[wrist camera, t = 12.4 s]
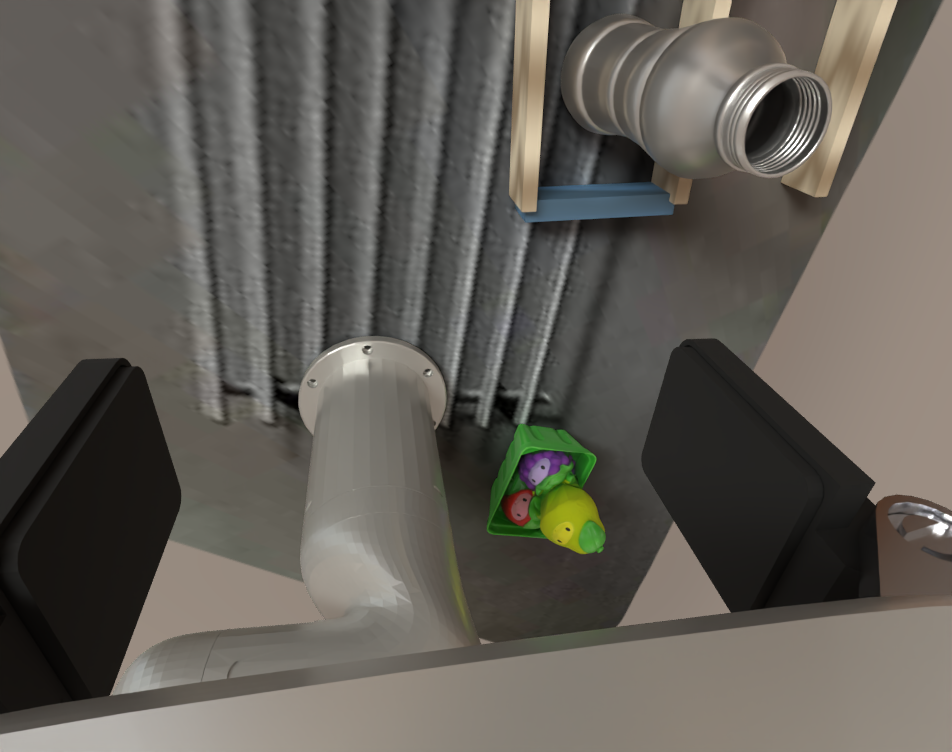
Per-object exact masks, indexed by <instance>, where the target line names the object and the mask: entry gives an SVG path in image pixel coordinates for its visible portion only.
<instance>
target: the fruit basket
mask: <svg viewBox="0 0 952 752" xmlns="http://www.w3.org/2000/svg"><path fill="white" fill-rule="evenodd" d="M595 463H596V456H595V455H594V454H593V453H591V452H590V451H589V450H587V449H585V448H584V447H583V446H581V445H580V444H579V443H578V442H577V441H576V440H575V439H574V438H573V437H572V436H571V435H570V434H568V433H567V432H566V431H565V430H554V429H552V428H547V427H540V426H530V427H529V426H527V425H525V424H519V425H518V427H517V430H516V432H515V434H514V440H513V441H512V442H511V444H510V446H509V448H508V451H507V453H506V459H505V460H504V461H503V462H502V465H501V467H500V469H499V472H498V477H497V478H496V479H495V481H494V483H493V486H492V488H491V499H490V512H489V518H488V521H487V531H488V532H489V533H490V534H493V535H509V536H521V537H532V538H546V539H547V538H548V539H549V540H550V541H552V542H554V543H555V544H557V545H560V546H563V547H567V548H570V549H571V550H573V551H575V552H577V553H580V554H587V553H593V552H595V551H597V552H598V553H600V552H602V551H603V549H604V547H603V546H602V545H603V544H604V542H605V539H606V535H605V529H604V526H603V524H602V522H601V521H600V519H599V515H598V510H597V507H596V505H595V503H594V501H593V499H592V498H591V497H590V496H589V495H588V494H587V493H586V492H585V491H584V490H582V488H583V486H584V484H585V482H586V480H587V478H588V477H589V475H590V473H591V471H592V469H593V467H594V465H595Z"/></svg>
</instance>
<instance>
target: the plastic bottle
mask: <svg viewBox="0 0 952 752" xmlns="http://www.w3.org/2000/svg"><path fill="white" fill-rule="evenodd" d="M560 83H561V93H562V97H563V100H564V103H565V105H566V107H567V109H568V111H569V112H570V114H571V115H572V117H573V118H574V119H575V121H576V122H577V123H578V124H579V125H580V126H582V127H583V128H584V129H586V130H588V131H590V132H592V133H598V134H603V135H621V136H625V137H627V138H629V139H631V140H632V141H634V142H635V143H637V144H638V145H640V146H641V147H642V148H643V150H644V151H645V152H646V153H647V154H648V155H649V156H650V157H651V158H652V159H653V160H654V161H655V162H656V163H658V164H659V165H660V166H661V167H662V168H664V169H665V170H667V171H668V172H669V173H671V174H674V175H676V176H678V177H681V178H686V179H705V178H714V177H718V176H722V175H725V174H727V173H729V172H731V171H733V170H738V171H742V172H749V173H751V174H753V175H755V176H758V177H763V178H777V177H780V176H784V175H786V174H788V173H790V172H792V171H794V170H795V169H797V168H798V167H800V166H801V165H802V164H803V163H804V162H806V161H807V160H808V159H809V158H810V157H811V155H812V154H813V153H814V152H815V151H816V149H817V148H818V146H819V145H820V143H821V142H822V140H823V138H824V136H825V134H826V132H827V129H828V126H829V123H830V120H831V114H832V97H831V92H830V90H829V87H828V85H827V84H826V83H825V81H824V80H823V79H822V78H821V77H819V76H817V75H816V74H814V73H812V72H809V71H805V70H800V69H798V68H796V67H795V66H793V65H789V64H787V62H786V58H785V55H784V52H783V50H782V48H781V46H780V44H779V43H778V42H777V41H776V39H775V38H774V37H773V36H772V35H771V34H770V33H769V32H768V31H766V30H765V29H764V28H763V27H761V26H759V25H758V24H756V23H755V22H753V21H751V20H748V19H744V18H740V17H725V18H718V19H712V20H708V21H704V22H701V23H698V24H694V25H691V26H687V27H683V28H675V29H661V28H658V27H654V26H653V25H652V24H650V23H649V22H647V21H645V20H643V19H641V18H639V17H637V16H633V15H630V14H613V15H609V16H605V17H603V18H602V19H600V20H598V21H596V22H594V23H592V24H590V25H589V26H587V27H586V28H585V29H584V30H582V31H581V32H580V33H579V35H578V36H577V37H576V38H575V39H574V41H573V42H572V44H571V46H570V47H569V49H568V51H567V53H566V56H565V58H564V61H563V66H562V70H561V80H560Z"/></svg>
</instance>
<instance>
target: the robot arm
mask: <svg viewBox="0 0 952 752" xmlns="http://www.w3.org/2000/svg"><path fill="white" fill-rule="evenodd" d="M367 345H368V346H369V347H366V346H367ZM446 402H447V394H446V387H445V383H444V379H443V376H442V374H441V372H440V370H439V368H438V366H437V365H436V364H435V362H434V361H433V360H432V359H431V358H430V357H429V356H428V355H427V354H426V353H424V352H423V351H422V350H420V349H419V348H418V347H416V346H414V345H412V344H410V343H408V342H405V341H402V340H399V339H395V338H391V337H383V336H363V337H358V338H353V339H348V340H346V341H343V342H340V343H338V344H335V345H333V346H332V347H330V348H329V349H327V350H325V351H324V352H322V353H321V354H320V355H319V356H318V357H317V358H316V359H315V360H314V361H313V362H312V363H311V365H310V366H309V367H308V369H307V370H306V372H305V374H304V376H303V379H302V381H301V386H300V391H299V410H300V414H301V418H302V420H303V422H304V424H305V426H306V427H307V429H308V430H309V431H310V432H311V434H312V435H313V444H312V453H311V462H310V470H309V479H308V488H307V496H306V505H305V514H304V522H303V531H302V541H301V550H300V563H301V571H302V577H303V580H304V583H305V586H306V589H307V591H308V593H309V595H310V597H311V599H312V601H313V603H314V604H315V606H316V608H317V609H318V611H319V612H320V614H321V615H322V616H323V617H324V619H325V620H319V621H315V622H312V623H300V624H288V625H275V626H263V627H251V628H239V629H227V630H217V631H207V632H200V633H193V634H186V635H182V636H177V637H173V638H170V639H167V640H165V641H162V642H161V643H158V644H156V645H154V646H152V647H151V648H149V649H148V650H146V651H145V652H144V653H142V654H141V655H140V656H139V657H138V658H137V659H136V660H135V661H134V662H133V663H132V664H131V665H130V666H129V667H128V668H127V670H126V671H125V673H124V675H123V676H122V678H121V679H120V681H119V682H118V684H117V686H116V688H115V690H114V692H113V694H112V696H109V695H110V693H111V691H112V688H113V686H114V683H115V680H116V678H117V675H118V672H119V669H120V667H121V664H122V661H123V659H124V656H125V654H126V651H127V648H128V646H129V643H130V640H131V637H132V635H133V632H134V629H135V627H136V624H137V621H138V619H139V616H140V613H141V611H142V608H143V605H144V602H145V600H146V597H147V594H148V592H149V589H150V586H151V584H152V581H153V578H154V576H155V573H156V571H157V568H158V565H159V563H160V560H161V557H162V554H163V552H164V549H165V546H166V544H167V541H168V538H169V536H170V533H171V530H172V528H173V525H174V522H175V520H176V517H177V514H178V512H179V509H180V504H181V489H180V485H179V482H178V479H177V475H176V472H175V469H174V466H173V463H172V460H171V456H170V453H169V450H168V447H167V444H166V441H165V437H164V434H163V431H162V428H161V425H160V422H159V418H158V415H157V412H156V409H155V406H154V403H153V399H152V396H151V393H150V390H149V387H148V384H147V380H146V377H145V374H144V372H143V370H142V369H141V368H140V367H138V366H136V367H132V366H131V364H130V363H129V362H128V360H126V359H124V358H111V359H85V360H82V361H81V362H79V363H78V364H77V366H76V367H75V368H74V369H73V370H72V372H71V373H70V374H69V375H68V377H67V378H66V379H65V380H64V381H63V383H62V384H61V385H60V386H59V387H58V389H57V390H56V391H55V392H54V394H53V395H52V396H51V397H50V398H49V400H48V401H47V402H46V403H45V405H44V406H43V407H42V408H41V409H40V411H39V412H38V413H37V414H36V415H35V417H34V418H33V419H32V420H31V422H30V423H29V424H28V425H27V427H26V428H25V429H24V430H23V431H22V433H21V434H20V435H19V436H18V437H17V439H16V440H15V441H14V442H13V443H12V445H11V446H10V447H9V448H8V450H7V451H6V452H5V453H4V454H3V456H2V457H1V458H0V752H952V511H951V510H949V509H947V508H945V507H943V506H941V505H938V504H936V503H933V502H931V501H929V500H925V499H921V498H918V497H914V496H907V495H892V496H887V497H884V498H883V499H881V500H880V501H878V503H877V504H876V506H875V505H874V504H873V503H872V502H871V501H870V500H869V499H868V498H867V496H868V494H869V493H870V491H871V489H872V488H873V486H874V484H875V482H874V481H873V480H872V479H871V478H870V477H869V476H868V475H867V474H865V473H864V472H863V471H862V470H861V469H860V468H859V467H858V466H857V465H855V464H854V463H853V462H852V461H851V460H850V459H849V458H848V457H847V456H846V455H844V454H843V453H842V452H841V451H840V450H839V449H838V448H837V447H836V446H835V445H833V444H832V443H831V442H830V441H829V440H828V439H827V438H826V437H825V436H824V435H823V434H821V433H820V432H819V431H818V430H817V429H816V428H815V427H814V426H813V425H812V424H810V423H809V422H808V421H807V420H806V419H805V418H804V417H803V416H802V415H801V414H799V413H798V412H797V411H796V410H795V409H794V408H793V407H792V406H791V405H789V404H788V403H787V402H786V401H785V400H784V399H783V398H782V397H781V396H780V395H779V394H777V393H776V392H775V391H774V390H773V389H772V388H771V387H770V386H769V385H768V384H767V383H765V382H764V381H763V380H762V379H761V378H760V377H759V376H758V375H757V374H755V373H754V372H753V371H752V370H751V369H750V368H749V367H748V366H747V365H746V364H745V363H743V362H742V361H741V360H740V359H739V358H738V357H737V356H736V355H735V354H734V353H732V352H731V351H730V350H729V349H728V348H727V347H726V346H725V345H724V344H723V343H721V342H720V341H719V340H717V339H686V340H685V341H683V342H682V343H681V344H680V346H679V347H676V348H675V349H674V350H673V351H672V353H671V356H670V359H669V363H668V366H667V369H666V373H665V376H664V380H663V383H662V387H661V390H660V394H659V397H658V400H657V404H656V407H655V411H654V414H653V418H652V421H651V424H650V428H649V431H648V435H647V438H646V442H645V445H644V448H643V452H642V467H643V470H644V472H645V474H646V476H647V477H648V479H649V481H650V482H651V484H652V486H653V487H654V489H655V490H656V492H657V494H658V495H659V497H660V499H661V500H662V502H663V503H664V505H665V507H666V508H667V510H668V512H669V513H670V515H671V516H672V518H673V520H674V521H675V523H676V524H677V526H678V528H679V529H680V531H681V533H682V534H683V536H684V537H685V539H686V541H687V542H688V544H689V545H690V547H691V549H692V550H693V552H694V554H695V555H696V557H697V559H698V560H699V562H700V563H701V565H702V567H703V568H704V570H705V572H706V573H707V575H708V576H709V578H710V580H711V581H712V583H713V584H714V586H715V588H716V589H717V591H718V593H719V594H720V596H721V597H722V599H723V601H724V602H725V604H726V606H727V607H728V608H729V610H730V612H731V613H726V614H718V615H710V616H702V617H695V618H686V619H678V620H670V621H662V622H653V623H645V624H638V625H629V626H621V627H613V628H606V629H598V630H590V631H582V632H575V633H567V634H559V635H551V636H544V637H536V638H528V639H520V640H513V641H505V642H497V643H490V644H483V645H481V643H480V640H479V637H478V635H477V632H476V629H475V626H474V623H473V621H472V618H471V615H470V612H469V608H468V605H467V601H466V598H465V595H464V591H463V587H462V582H461V578H460V574H459V569H458V564H457V559H456V554H455V548H454V542H453V537H452V531H451V525H450V520H449V514H448V508H447V502H446V496H445V490H444V484H443V477H442V471H441V465H440V459H439V453H438V447H437V441H436V435H435V430H436V428H437V427H438V425H439V424H440V422H441V420H442V418H443V416H444V412H445V409H446Z"/></svg>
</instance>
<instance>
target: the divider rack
mask: <svg viewBox="0 0 952 752" xmlns="http://www.w3.org/2000/svg"><path fill="white" fill-rule="evenodd" d="M897 1H898V0H837V2H836V5H835V9H834V12H833V15H832V18H831V22H830V25H829V28H828V31H827V35H826V38H825V41H824V44H823V47H822V51H821V54H820V57H819V60H818V64H817V67H816V70H815V73H814V74H816V75H817V76H819V77H821V78H822V79H823V80H824V81H825V83H826V84H827V85H828V87H829V90H830V92H831V97H832V114H831V120H830V123H829V126H828V129H827V132H826V134H825V136H824V138H823V140H822V142H821V143H820V145H819V146H818V148H817V149H816V151H815V152H814V153H813V154H812V155H811V157H810V158H809V159H808V160H807V161H806V162H804V163H803V164H802V165H801V166H800V167H798V168H797V169H795V170H794V171H792V172H790V173H788V174H786V175H784V176H783V177H782V180H781V183H783V184H785V185H788V186H790V187H792V188H795V189H797V190H799V191H802V192H804V193H806V194H809V195H811V196H813V197H827V195H828V192H829V189H830V187H831V184H832V181H833V178H834V175H835V173H836V170H837V167H838V164H839V162H840V159H841V156H842V153H843V150H844V148H845V145H846V142H847V139H848V137H849V134H850V131H851V128H852V125H853V123H854V120H855V117H856V114H857V112H858V109H859V106H860V103H861V100H862V98H863V95H864V92H865V89H866V87H867V84H868V81H869V78H870V75H871V73H872V70H873V67H874V64H875V62H876V59H877V56H878V53H879V50H880V48H881V45H882V42H883V39H884V37H885V34H886V31H887V28H888V25H889V23H890V20H891V17H892V14H893V12H894V9H895V6H896V3H897ZM731 3H732V0H684V1H683V6H682V12H681V17H680V23H679V28H683V27H687V26H691V25H694V24H698V23H701V22H704V21H708V20H712V19H718V18H725V17H728V16H729V12H730V7H731ZM549 8H550V0H516V21H515V48H514V75H513V103H512V130H511V157H510V185H509V196H510V197H511V198H512V200H513V201H514V202H515V209H516V210H517V212H518V213H519V214H520V216H521V217H522V218H523V220H524V221H525V222H544V221H562V220H581V219H599V218H618V217H636V216H655V215H673V210H674V205H675V204H687V203H688V198H689V194H690V189H691V185H692V180H693V179H686V178H681V177H678V176H676V175H674V174H671V173H669V172H668V171H667V170H665V169H664V168H662V167H661V166H660V165H659V164H658V163H656V162H655V163H654V169H653V174H652V180H651V182H637V183H615V184H593V185H571V186H548V187H538V177H539V162H540V146H541V131H542V116H543V100H544V85H545V70H546V54H547V39H548V24H549Z"/></svg>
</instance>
